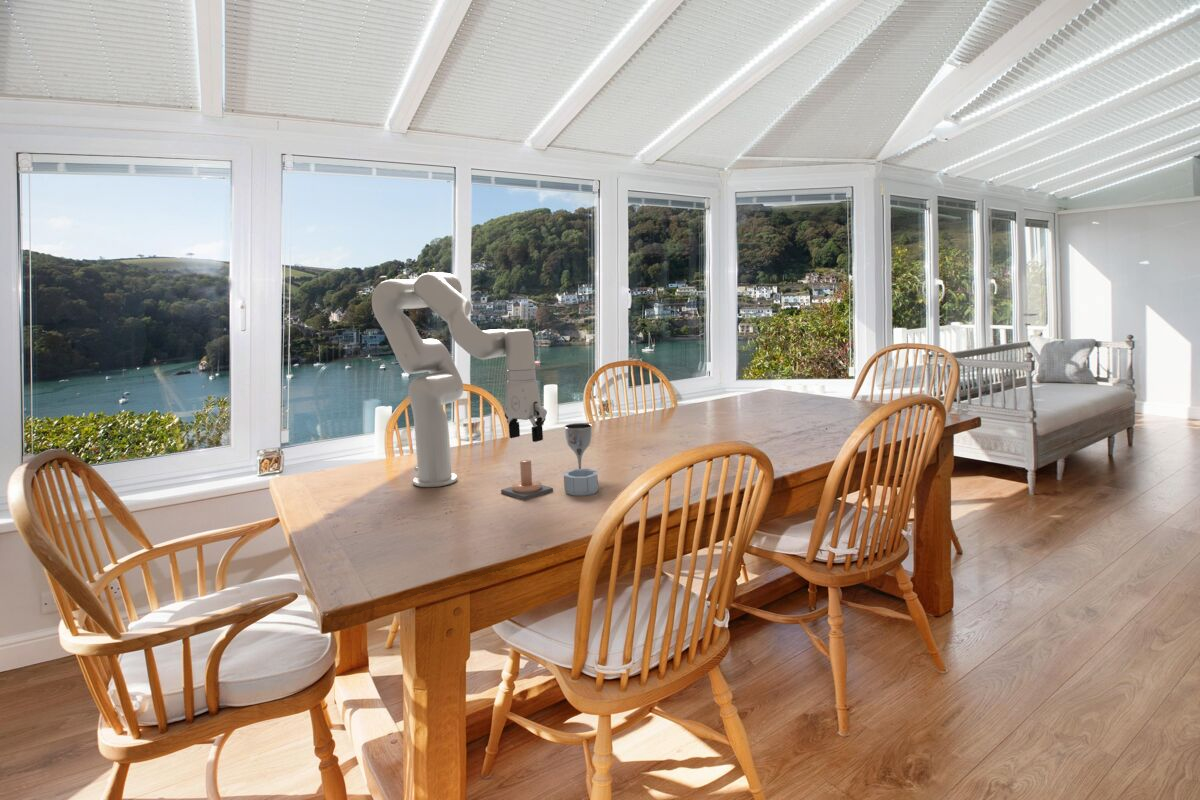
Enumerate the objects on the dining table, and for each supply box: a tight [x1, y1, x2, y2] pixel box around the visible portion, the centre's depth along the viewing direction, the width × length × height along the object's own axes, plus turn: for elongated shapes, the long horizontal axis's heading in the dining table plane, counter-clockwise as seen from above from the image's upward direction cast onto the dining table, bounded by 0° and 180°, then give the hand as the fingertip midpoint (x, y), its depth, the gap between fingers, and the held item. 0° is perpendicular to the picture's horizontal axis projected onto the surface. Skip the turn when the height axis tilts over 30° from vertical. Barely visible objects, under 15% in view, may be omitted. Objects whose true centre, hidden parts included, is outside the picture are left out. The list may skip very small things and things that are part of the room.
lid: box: [511, 459, 543, 493], centre depth 185 cm, size 8×8×8 cm
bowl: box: [563, 468, 599, 497], centre depth 185 cm, size 9×9×5 cm
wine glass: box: [564, 422, 593, 469], centre depth 200 cm, size 8×8×15 cm
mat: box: [500, 484, 554, 501], centre depth 186 cm, size 10×10×1 cm
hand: (526, 439), depth 184 cm, fingers open, 9 cm apart
